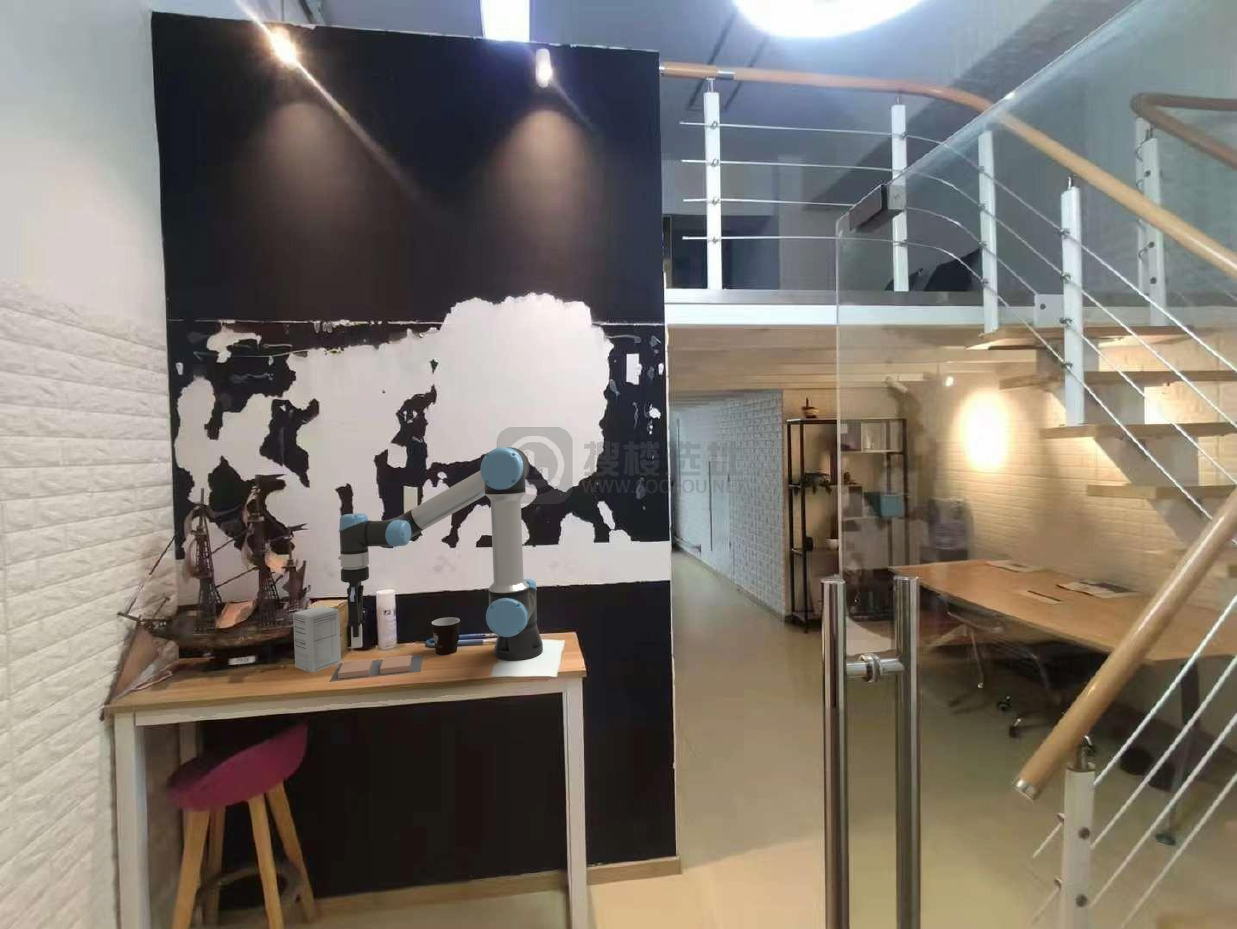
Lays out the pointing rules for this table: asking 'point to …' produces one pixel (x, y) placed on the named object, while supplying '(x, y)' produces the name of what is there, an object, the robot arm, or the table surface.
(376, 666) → the mat
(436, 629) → the coffee mug
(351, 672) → the tile
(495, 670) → the table surface
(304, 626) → the supplement box
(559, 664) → the table surface
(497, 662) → the table surface
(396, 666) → the tile
